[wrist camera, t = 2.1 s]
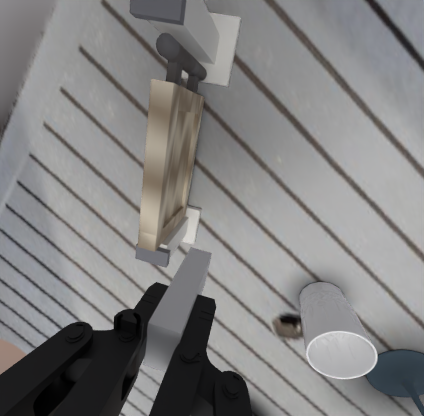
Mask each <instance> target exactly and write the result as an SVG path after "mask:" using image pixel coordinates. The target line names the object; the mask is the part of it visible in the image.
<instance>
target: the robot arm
mask: <svg viewBox="0 0 424 416" xmlns="http://www.w3.org/2000/svg"><path fill="white" fill-rule="evenodd" d="M211 254H212V253H209V252H206V251H202V250H198V249H195V248H190V250H189V252H188V254H187V255H186V257H185V259H184V261H183V262H182V264H181V266H180V268H179V269H178V271H177V273H176V275H175V276H174V278H173V280H172V282H171V283H170V285H169V286H167V285H164V284H161V283H157V282H156V283H154V284H153V285H151V286H150V287H149V288H148V289H147V291H146V292H145V294H144V295H143V297H142V298H141V300H140V301H139V302H138V304H137V305H136V307H135V308H134V309H126V310H123V311H121V312H119V313H118V314H116V315H115V316H114V329H112V330H93V329H92V327H91V325H90V324H88V323H86V322H75V323H72V324H70V325H68V326H66V327H64V328H63V329H62V330H60V331H59V332H58V333H56V334H55V335H54V336H52V337H51V338H50V339H48V340H47V341H45V342H44V343H43V344H41V345H40V346H39V347H37V348H36V349H35V350H33V351H32V352H31V353H29V354H28V355H26V356H25V357H24V358H22V359H21V360H20V361H18V362H17V363H16V364H14V365H13V366H12V367H10V368H9V369H8V370H6V371H5V372H3V373H2V374H1V375H0V416H119V414H120V411H121V409H122V407H123V405H124V403H125V401H126V399H127V397H128V395H129V393H130V391H131V389H132V387H133V385H134V383H135V381H136V379H137V376H138V372H139V367H140V365H141V363H142V361H143V359H144V361H143V365H145V366H148V367H151V368H154V369H157V370H160V371H163V372H165V375H164V378H163V380H162V383H161V386H160V388H159V391H158V393H157V396H156V399H155V401H154V404H153V406H152V409H151V412H150V414H149V416H190V415H191V416H252V411H251V405H250V399H249V393H248V388H247V385H246V382H245V381H244V380H243V378H242V377H241V376H240V375H239V374H237V373H236V372H233V371H224V372H221V371H220V370H218V369H217V368H216V367H215V366H214V365H212V364H211V362H210V361H209V359H208V356H207V352H206V348H207V343H208V339H209V335H210V331H211V326H212V322H213V318H214V314H215V310H216V304H215V300H214V299H212V298H209V297H205V296H202V295H201V294H202V291H203V288H204V285H205V281H206V276H207V272H208V268H209V263H210V259H211Z"/></svg>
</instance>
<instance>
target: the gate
mask: <svg viewBox="0 0 424 416" xmlns="http://www.w3.org/2000/svg"><path fill="white" fill-rule="evenodd" d="M156 47H157V51H158V52H159V54H160V55H161V56H163V57H164V58H166V59H167V60H168V67H167V76H166V81H161V80H156V79H151V86H150V99H149V111H148V124H147V136H146V149H145V161H144V174H143V187H142V199H141V212H140V224H139V237H138V247H140V248H144V249H147V250H150V251H154V252H155V251H156V250H157V248H158V247H159V246H160V245H161V244H162V242H163V241H164V240H165V239H166V238H167V236H168V235H169V234H170V233H171V232H172V230H173V229H174V228H175V227H176V226H177V224H178V223H179V222H180V221H181V220H182V219H183V217H184V216H185V215H186V209H187V203H188V197H189V191H190V184H191V178H192V172H193V166H194V160H195V154H196V147H197V141H198V135H199V129H200V123H201V117H202V110H203V104H204V97H202V96H200V95H198V94H197V89H198V82H199V81H203V80H204V79H205V78H206V76H207V72H206V69H205V68H204V67H203V66H202V65H201V64H200V63H199V62H198V61H197V60H196V59H195V58H194V57H193V56H192V55H191V54H190V53H189V52H188V51H187V50H186V49H185V48H184V47H183V46H182V45H181V44H180V43H179V42H178V41H177V40H176V39H175V38H174V37H173V36H172V35H171V34H169V33H163V34H161V35H160V36H159V37H158V39H157V42H156ZM182 70H183V71H185V72H186V73H187V74H188V82H187V89H185V88H183V87H181V86H180V85H181V76H182Z"/></svg>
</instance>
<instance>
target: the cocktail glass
mask: <svg viewBox="0 0 424 416" xmlns="http://www.w3.org/2000/svg"><path fill="white" fill-rule="evenodd" d="M366 376H367V379H368V381H369V382H370V384H371V385H372V386H373V387H374V388H376V389H377V390H379V391H381V392H383V393H385V394H388V395H392V396H397V397H411V398H412V399H413V401H414V402H415V404H416V405H417V407H418V409H419V410H420V412H421V414H422V416H424V406H423V405H422V403H421V401H420V399H419V395H422V394H424V354H422V353H419V352H415V351H411V350H393V351H387V352H384V353H382V354H379V355H378V358H377V363H376V365H375V367H374V368H373V369H372V370H371V371H370V372H368V373H367V374H366Z"/></svg>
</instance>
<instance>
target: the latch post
mask: <svg viewBox="0 0 424 416" xmlns="http://www.w3.org/2000/svg"><path fill="white" fill-rule="evenodd" d="M200 214H201V209H200V208H196V207H192V206H189V205H187V209H186V215H185V216H184V217H183V219H182V220H181V221H180V222H179V223H178V224H177V226H176V227H175V228H174V229H173V230H172V232H171V233H170V234H169V235H168V236H167V238H166V239H165V240H164V241H163V242H162V244H161V245H160V246H159V247H158V248H157V250H156V251H155V252H154V251H150V250H147V249H144V248H140V247H138V244H137V245H136V257H135V259H139V260H142V261H146V262H149V263H152V264H156V265H159V266H162V267H167V266H168V264H169V259H170V257H171V256H172V254H173V253H174V251H175V250H176V248H177V247H178V245H179V244H180V243H181V241H183V242H187V243H190V244H194V243H195V241H196V235H197V230H198V225H199V220H200Z"/></svg>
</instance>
